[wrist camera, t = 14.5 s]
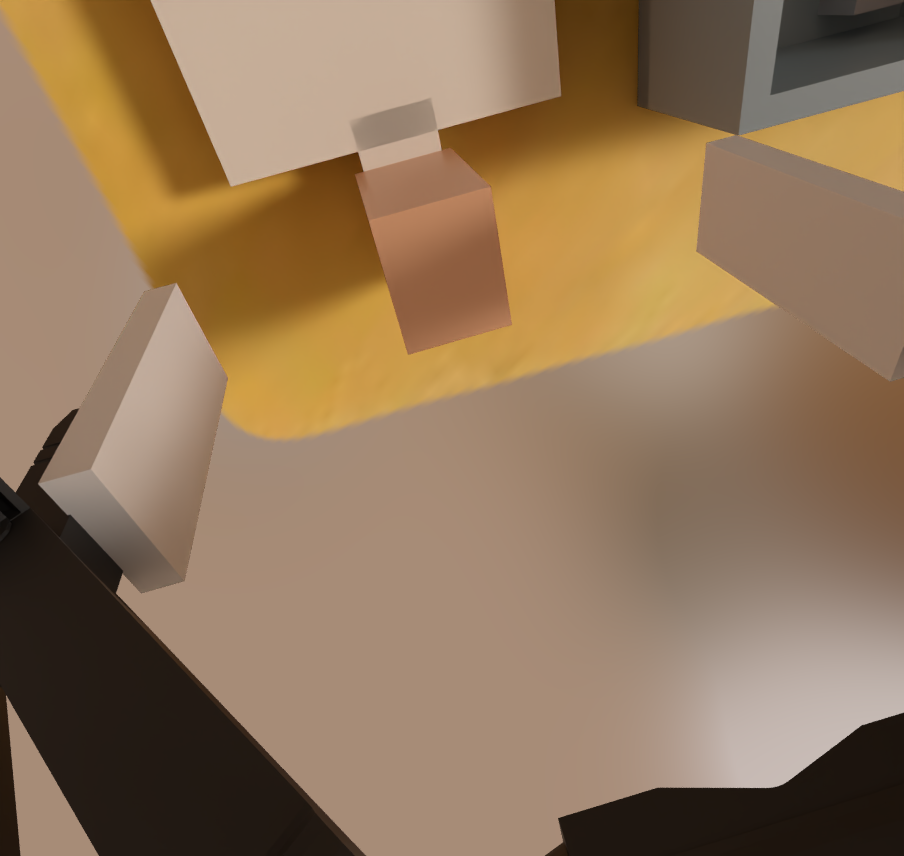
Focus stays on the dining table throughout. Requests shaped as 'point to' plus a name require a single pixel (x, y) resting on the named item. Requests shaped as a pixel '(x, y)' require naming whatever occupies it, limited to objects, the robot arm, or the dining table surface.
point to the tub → (766, 58)
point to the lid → (377, 123)
